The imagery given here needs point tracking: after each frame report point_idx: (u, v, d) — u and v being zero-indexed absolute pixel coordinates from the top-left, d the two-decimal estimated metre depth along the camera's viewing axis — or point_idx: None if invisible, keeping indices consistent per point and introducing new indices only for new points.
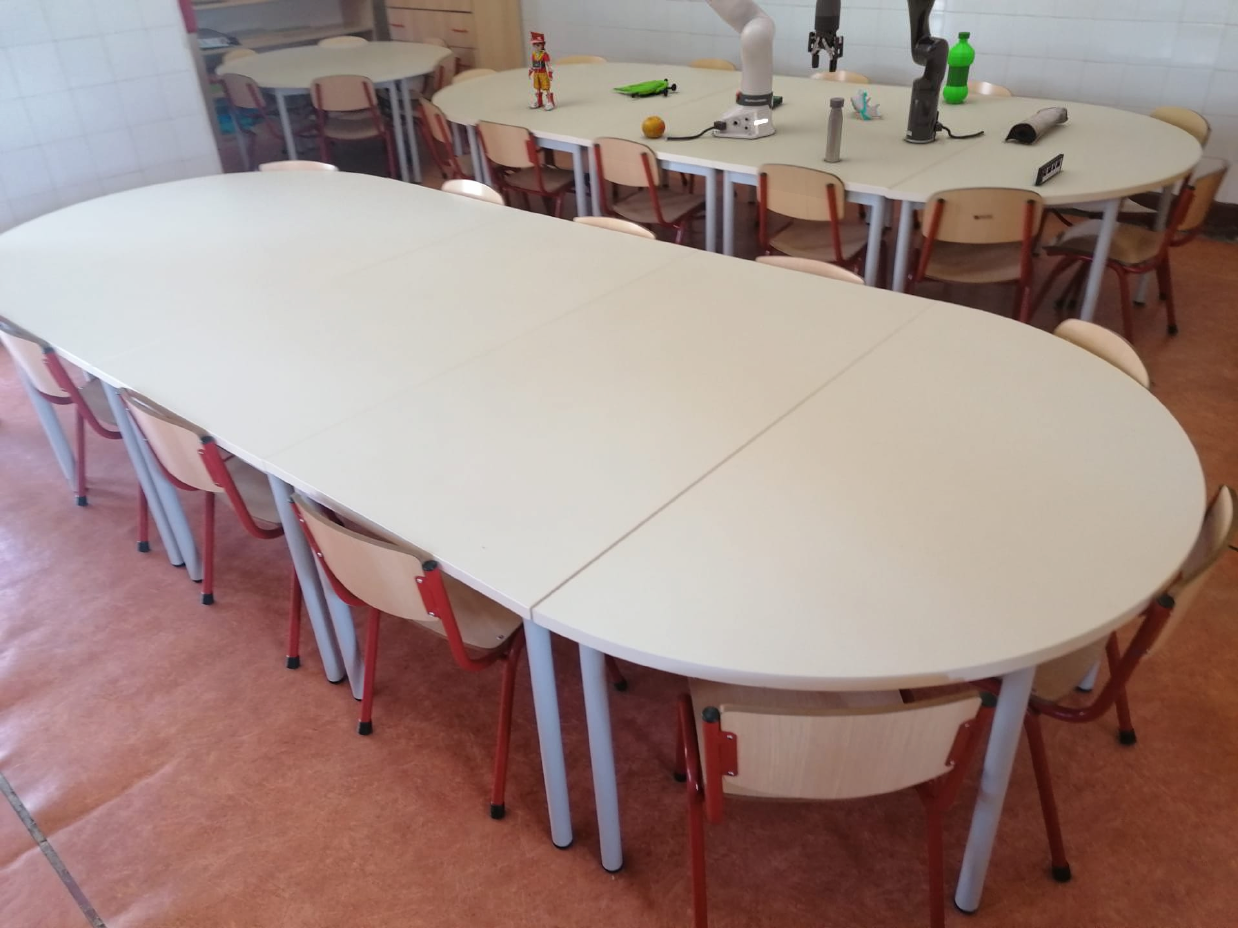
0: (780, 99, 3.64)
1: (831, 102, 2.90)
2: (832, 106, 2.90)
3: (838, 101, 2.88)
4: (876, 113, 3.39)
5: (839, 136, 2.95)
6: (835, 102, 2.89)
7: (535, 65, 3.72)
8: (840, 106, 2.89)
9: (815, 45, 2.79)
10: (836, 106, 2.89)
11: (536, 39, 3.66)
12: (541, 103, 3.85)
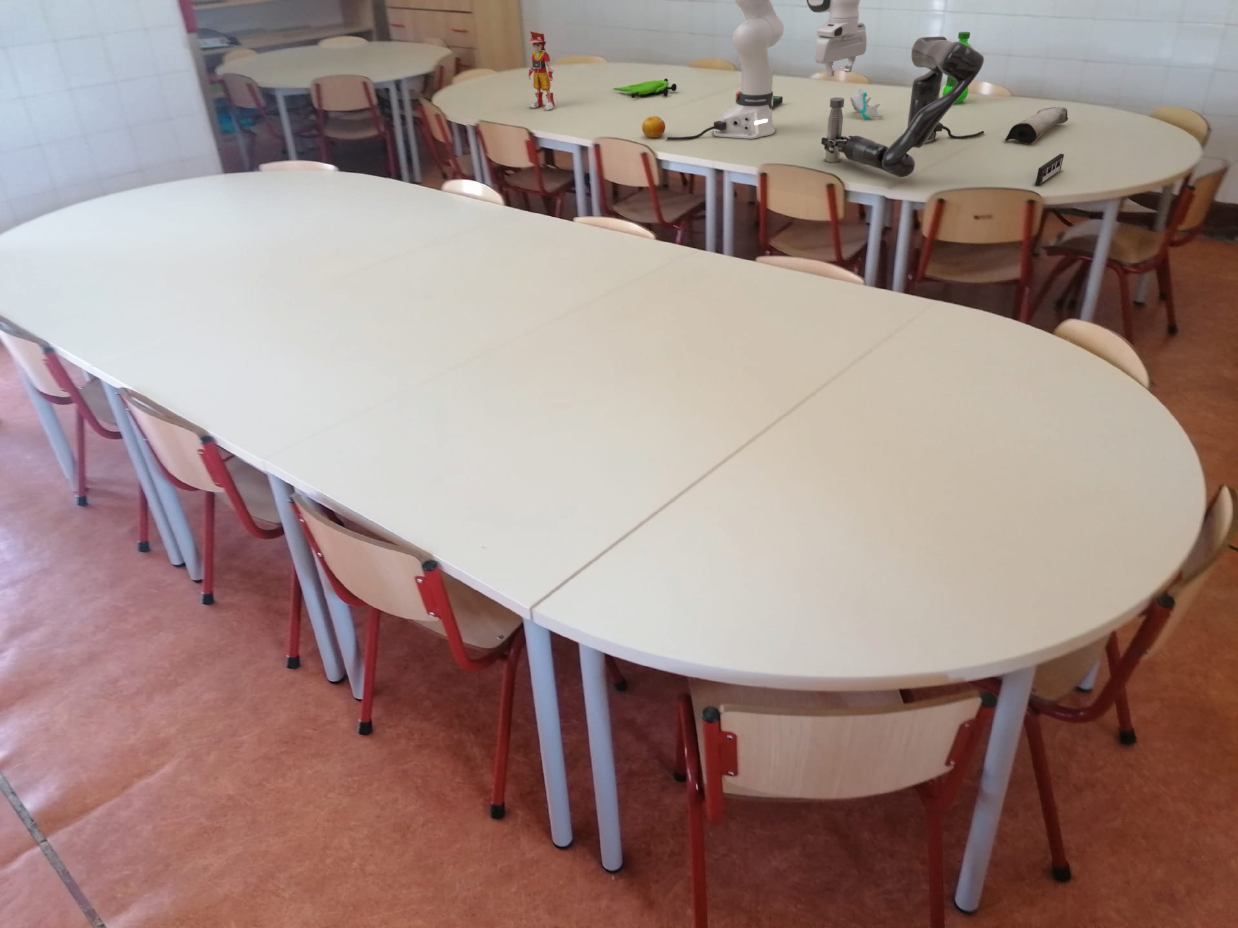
0: (780, 99, 3.64)
1: (831, 102, 2.90)
2: (832, 106, 2.90)
3: (838, 101, 2.88)
4: (876, 113, 3.39)
5: (839, 136, 2.95)
6: (834, 102, 2.89)
7: (535, 65, 3.72)
8: (840, 106, 2.89)
9: None
10: (836, 106, 2.89)
11: (536, 39, 3.66)
12: (541, 103, 3.85)
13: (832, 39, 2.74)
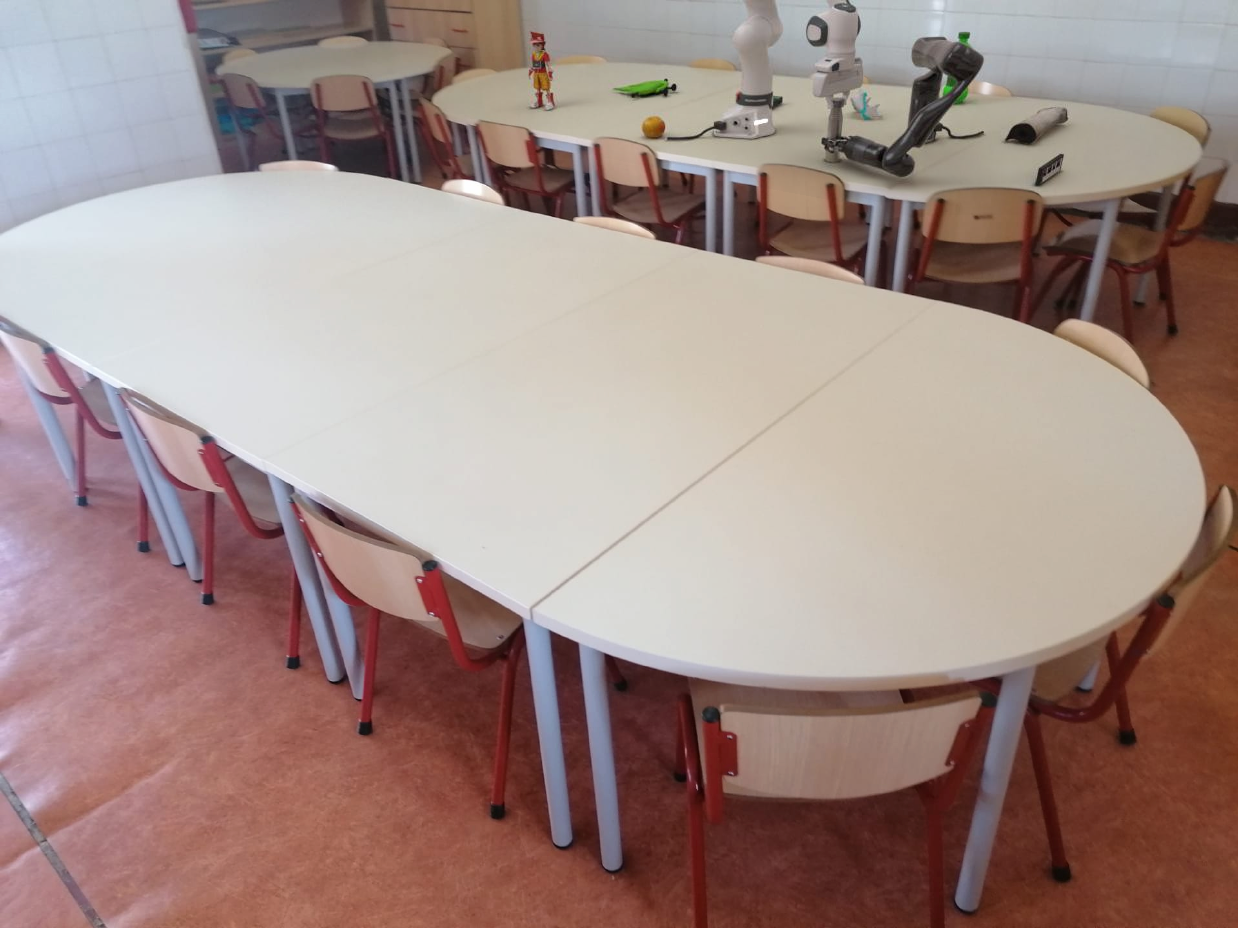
0: (780, 99, 3.64)
1: None
2: None
3: (838, 101, 2.88)
4: (876, 113, 3.39)
5: (839, 136, 2.95)
6: (835, 102, 2.89)
7: (535, 65, 3.72)
8: (840, 106, 2.89)
9: None
10: (836, 106, 2.89)
11: (536, 39, 3.66)
12: (541, 103, 3.85)
13: (829, 74, 2.79)
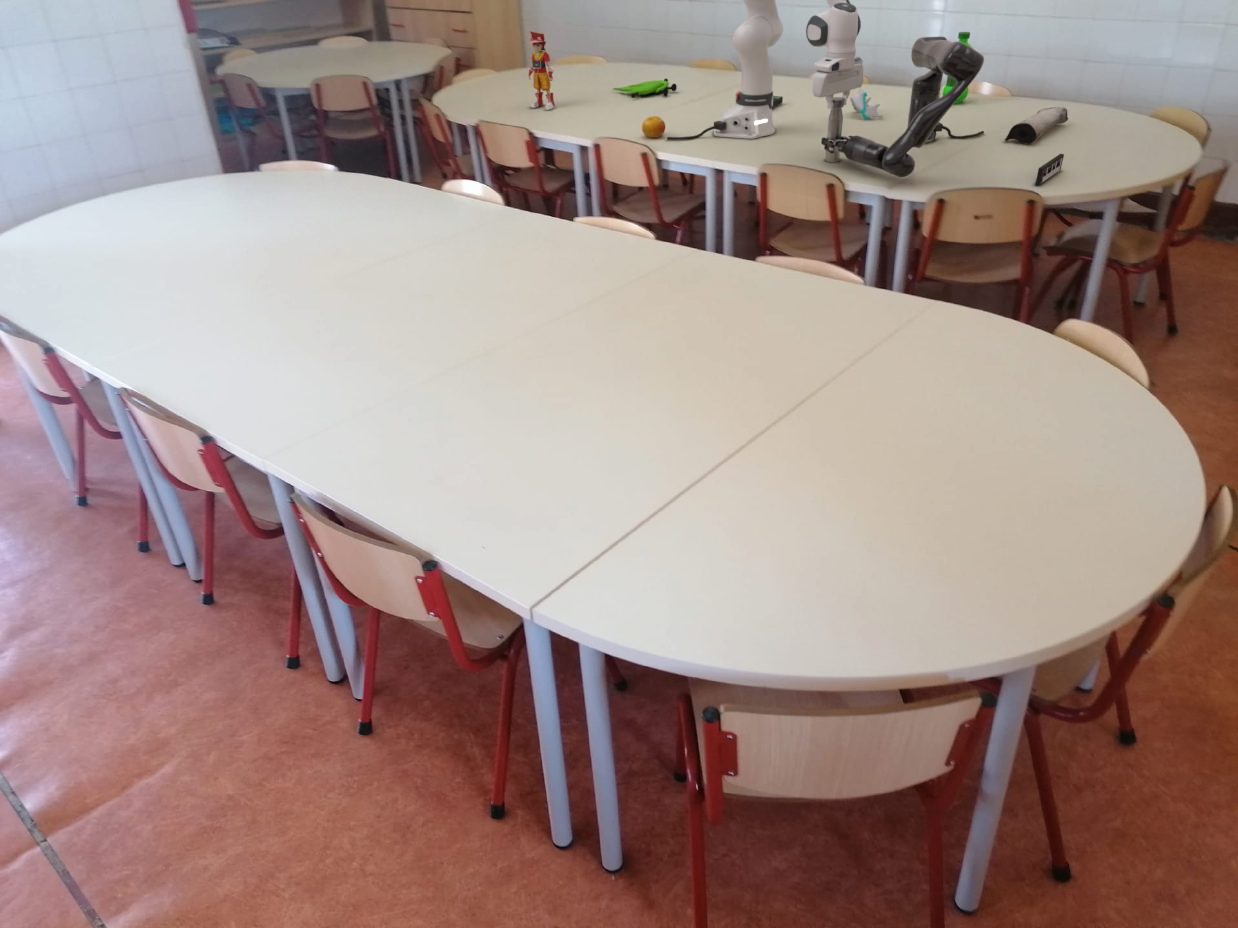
0: (780, 99, 3.64)
1: (840, 102, 2.89)
2: (841, 105, 2.89)
3: (843, 99, 2.90)
4: (876, 113, 3.39)
5: (839, 136, 2.95)
6: (843, 101, 2.89)
7: (535, 65, 3.72)
8: None
9: None
10: (843, 104, 2.90)
11: (536, 39, 3.66)
12: (541, 103, 3.85)
13: (829, 74, 2.79)
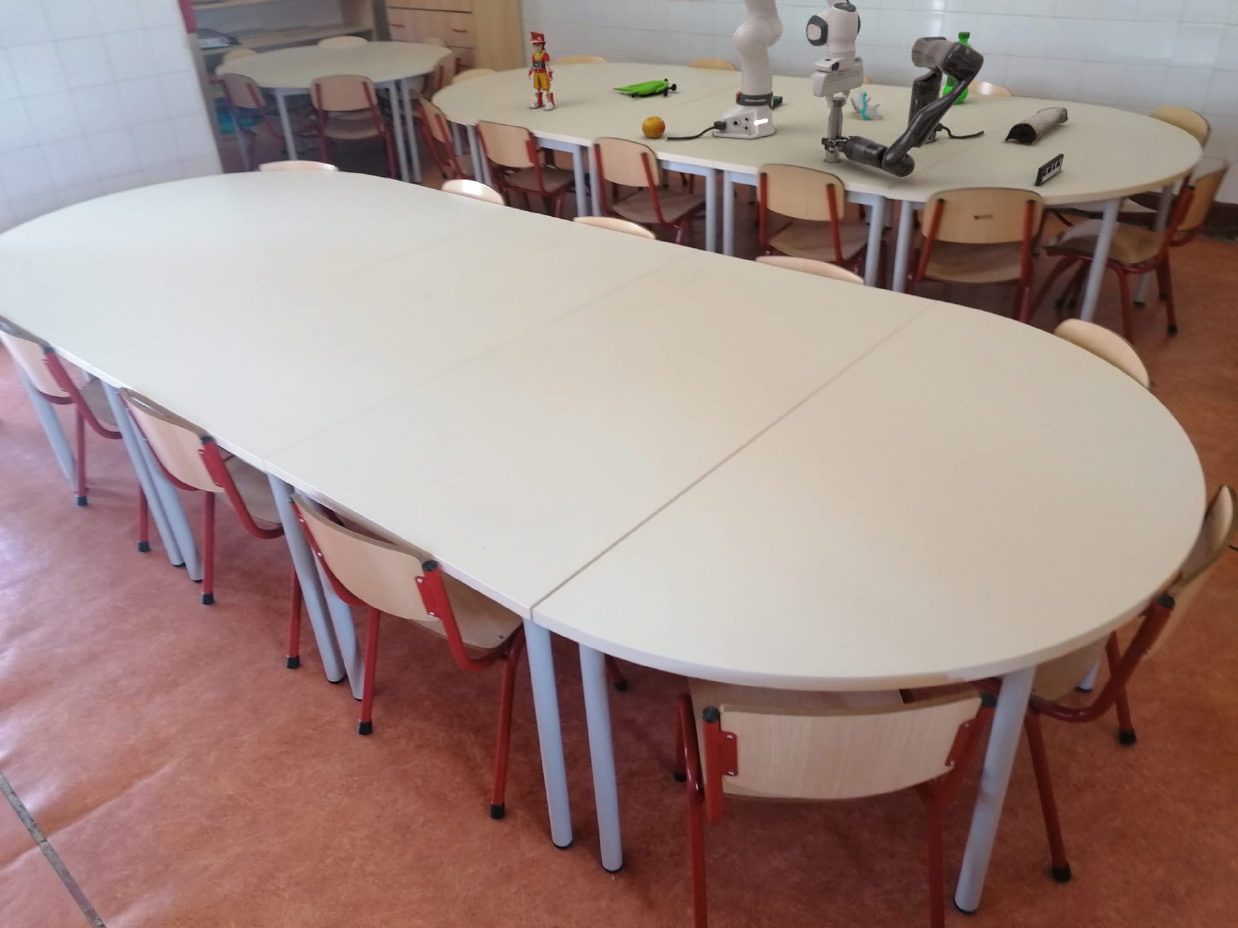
0: (780, 99, 3.64)
1: None
2: None
3: None
4: (876, 113, 3.39)
5: (839, 136, 2.95)
6: None
7: (535, 65, 3.72)
8: None
9: None
10: None
11: (536, 39, 3.66)
12: (541, 103, 3.85)
13: (829, 73, 2.79)
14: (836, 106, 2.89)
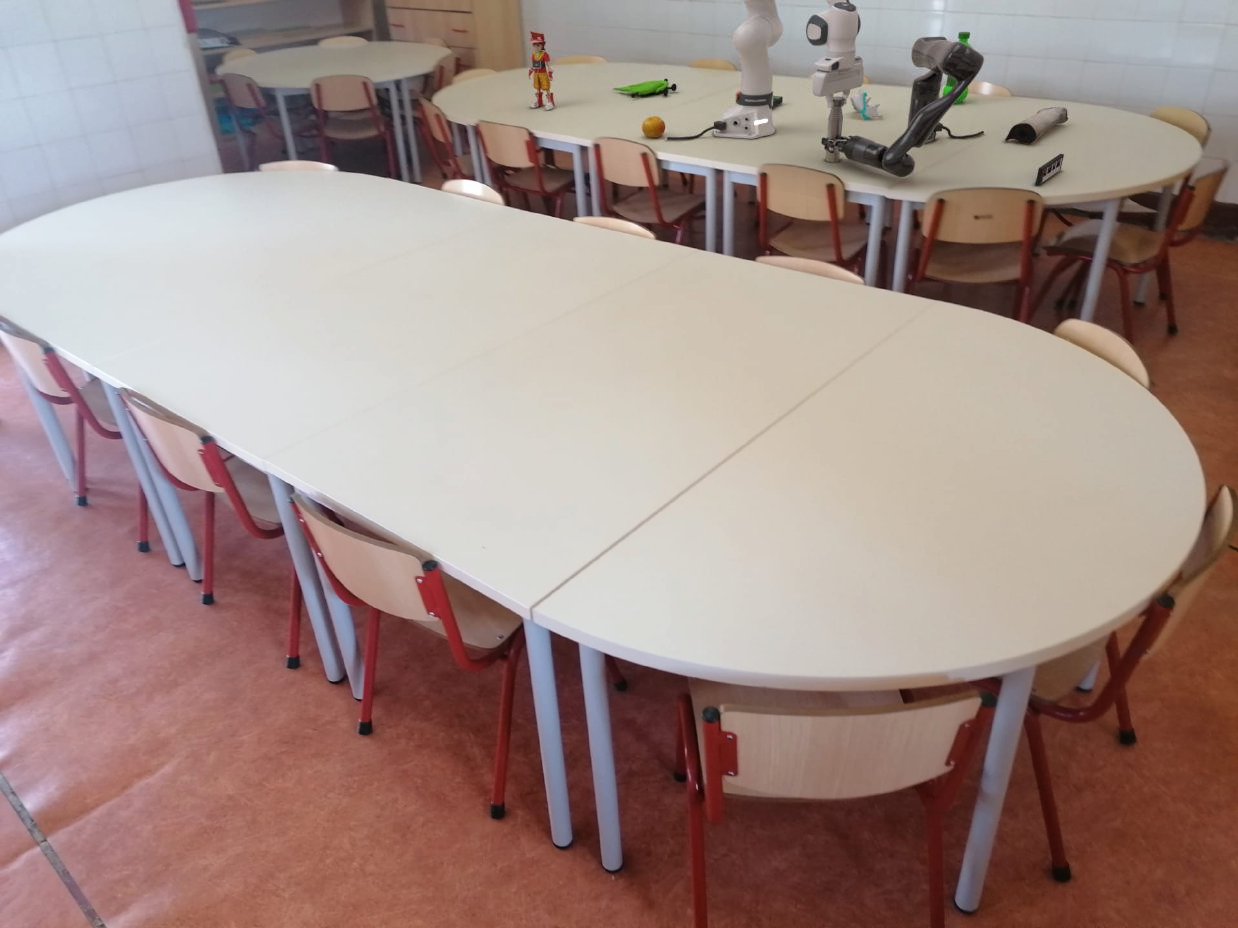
0: (780, 99, 3.64)
1: None
2: None
3: None
4: (876, 113, 3.39)
5: (839, 136, 2.95)
6: None
7: (535, 65, 3.72)
8: None
9: None
10: None
11: (536, 39, 3.66)
12: (541, 103, 3.85)
13: (829, 73, 2.79)
14: (843, 104, 2.90)
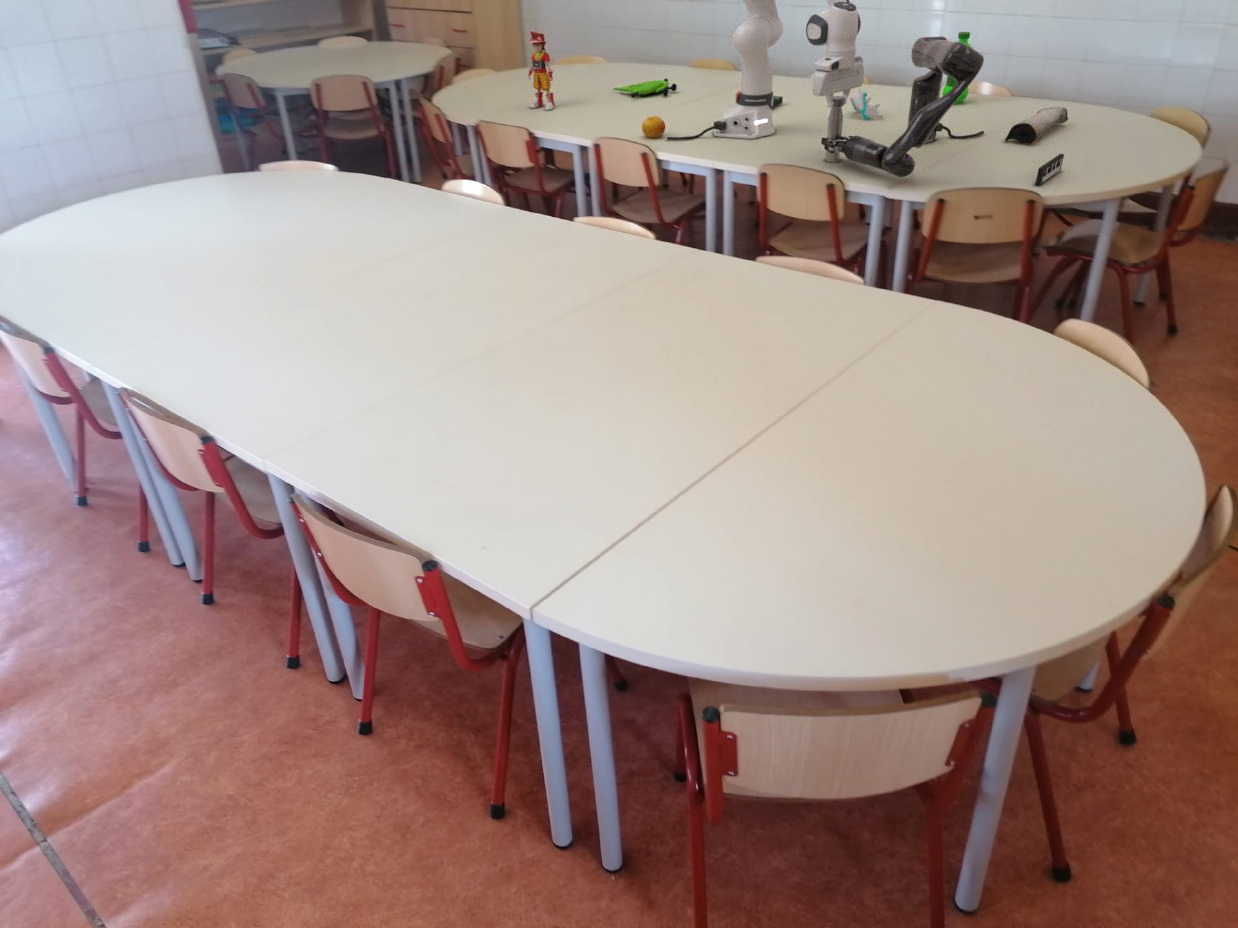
0: (780, 99, 3.64)
1: None
2: None
3: (837, 100, 2.88)
4: (876, 113, 3.39)
5: (839, 136, 2.95)
6: (833, 101, 2.89)
7: (535, 65, 3.72)
8: (839, 105, 2.89)
9: None
10: (835, 105, 2.89)
11: (536, 39, 3.66)
12: (541, 103, 3.85)
13: (829, 73, 2.79)
14: None
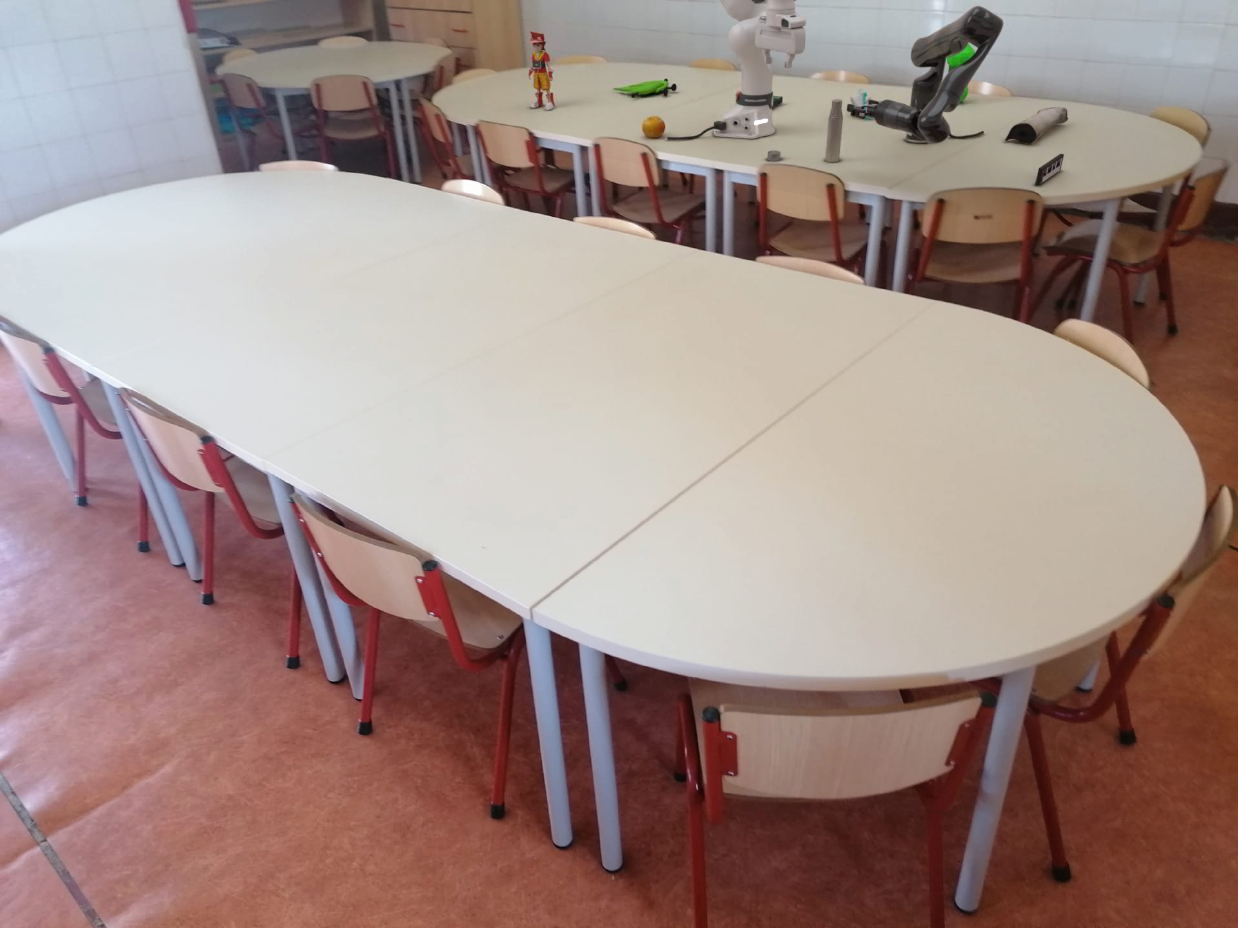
0: (780, 99, 3.64)
1: None
2: None
3: None
4: None
5: (839, 136, 2.95)
6: None
7: (535, 65, 3.72)
8: None
9: None
10: None
11: (536, 39, 3.66)
12: (541, 103, 3.85)
13: None
14: (771, 159, 3.04)
